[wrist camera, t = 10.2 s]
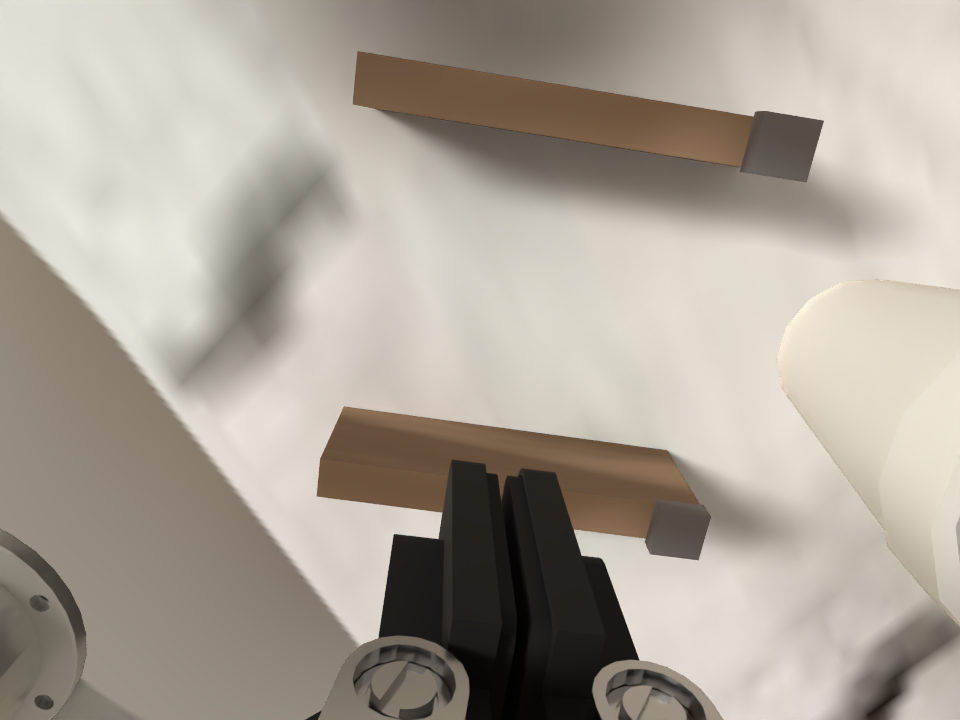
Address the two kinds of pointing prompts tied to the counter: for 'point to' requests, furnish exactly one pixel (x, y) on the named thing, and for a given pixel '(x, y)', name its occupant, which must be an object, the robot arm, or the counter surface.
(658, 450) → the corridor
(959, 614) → the foam cup
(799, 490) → the counter surface
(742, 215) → the counter surface
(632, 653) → the robot arm
